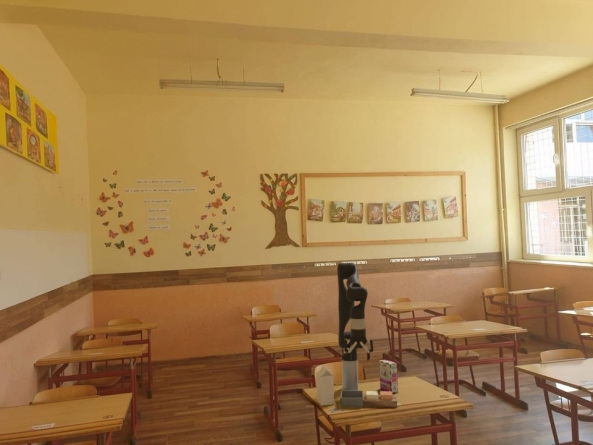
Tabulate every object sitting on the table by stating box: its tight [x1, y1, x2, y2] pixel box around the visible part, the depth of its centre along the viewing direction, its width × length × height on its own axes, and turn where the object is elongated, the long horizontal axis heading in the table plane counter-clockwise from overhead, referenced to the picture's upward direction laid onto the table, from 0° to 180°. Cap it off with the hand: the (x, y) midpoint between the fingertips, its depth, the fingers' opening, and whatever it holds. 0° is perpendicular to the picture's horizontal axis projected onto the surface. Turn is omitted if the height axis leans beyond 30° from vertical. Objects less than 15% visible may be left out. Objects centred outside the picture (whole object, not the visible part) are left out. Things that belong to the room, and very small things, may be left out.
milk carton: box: [316, 365, 335, 407], centre depth 245 cm, size 7×7×19 cm
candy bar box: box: [378, 359, 399, 394], centre depth 264 cm, size 11×5×16 cm, turn 25°
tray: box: [339, 389, 364, 409], centre depth 244 cm, size 13×12×5 cm
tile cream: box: [365, 390, 379, 400], centre depth 242 cm, size 6×6×2 cm
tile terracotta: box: [379, 390, 394, 400], centre depth 241 cm, size 6×6×2 cm
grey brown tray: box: [363, 393, 398, 408], centre depth 242 cm, size 11×17×3 cm, turn 83°
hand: (359, 360), depth 228 cm, fingers open, 8 cm apart
